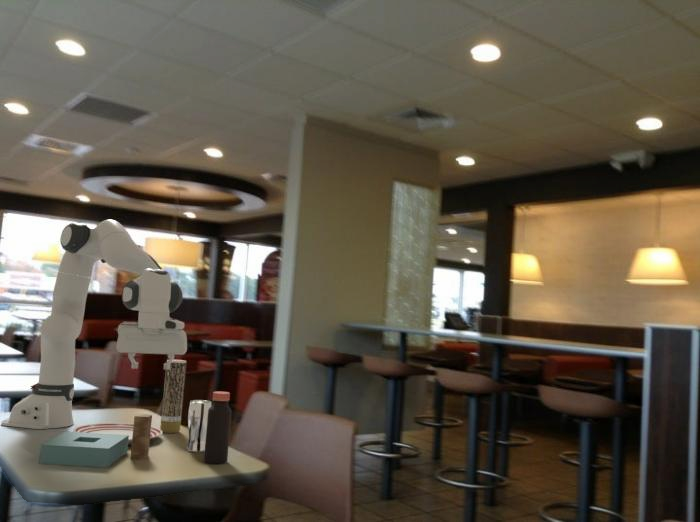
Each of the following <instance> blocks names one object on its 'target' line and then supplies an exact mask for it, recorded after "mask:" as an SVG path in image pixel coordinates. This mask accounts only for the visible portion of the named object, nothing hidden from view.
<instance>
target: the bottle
mask: <svg viewBox="0 0 700 522" xmlns="http://www.w3.org/2000/svg"><path fill="white" fill-rule="evenodd" d="M230 397H231V393H230V392H229V391H222V390H220V391H218V390H217V391H213V392H212V402H213V403H212V404H211V407H210V408H209V410H208V419H207V430H206V441H205V451H204V455H203V461H204V462H205V463H206V464H211V465H222V464H223V465H224V464H226V463H227V462H228V457H229V456H228V455H229V446H230V445H229V443H230V434H231V422H232V421H231V420H232V411H233V410H232V409H231V407H230V405H229V402H230Z"/></svg>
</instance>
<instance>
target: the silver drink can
mask: <svg viewBox="0 0 700 522" xmlns="http://www.w3.org/2000/svg"><path fill="white" fill-rule="evenodd" d="M211 406H212V401H210V400H204V399H193V400H190V401H189V407H188V413H187V414H188V415H187V425H188V426H187V427H188V443H187V445H186V451H187V452H190V453H203V452H205V441H206V430H207V419H208V410H209V408H210V407H211Z"/></svg>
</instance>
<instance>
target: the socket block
mask: <svg viewBox="0 0 700 522" xmlns="http://www.w3.org/2000/svg"><path fill="white" fill-rule="evenodd" d="M128 439H129V435H116V434H100V433H83V432H73V431H66V432H64V433H62V434H59V435H57V436H55V437H53V438H52V439H49V440H47V441H45V442H43V443H41V444H40V449H39V457H38V464H41V465H60V466H72V467H73V466H76V467H90V466H91V468H109V467H110V466H112V464H113V463H115V462H116V461H118V460H119V459H120V458H122V457H123V456H124V455H125V454H127V453H128V449H129V448H128V447H129V445H128Z"/></svg>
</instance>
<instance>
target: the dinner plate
mask: <svg viewBox="0 0 700 522" xmlns="http://www.w3.org/2000/svg"><path fill="white" fill-rule="evenodd" d="M133 427H134V423H131V422H130V423H129V422H128V423H125V422H100V423H90V424H82V425H79V426H75V427H74V428H73V429H72V432H83V433H100V434H116V435H129V439H128V446H132V437H133ZM163 434H164V433H163V432H162V430H160V428H159V427H158V428H157V427H155V426H151V432H150V440H153V439H156V438H157V437H160V436H162V435H163Z"/></svg>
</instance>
